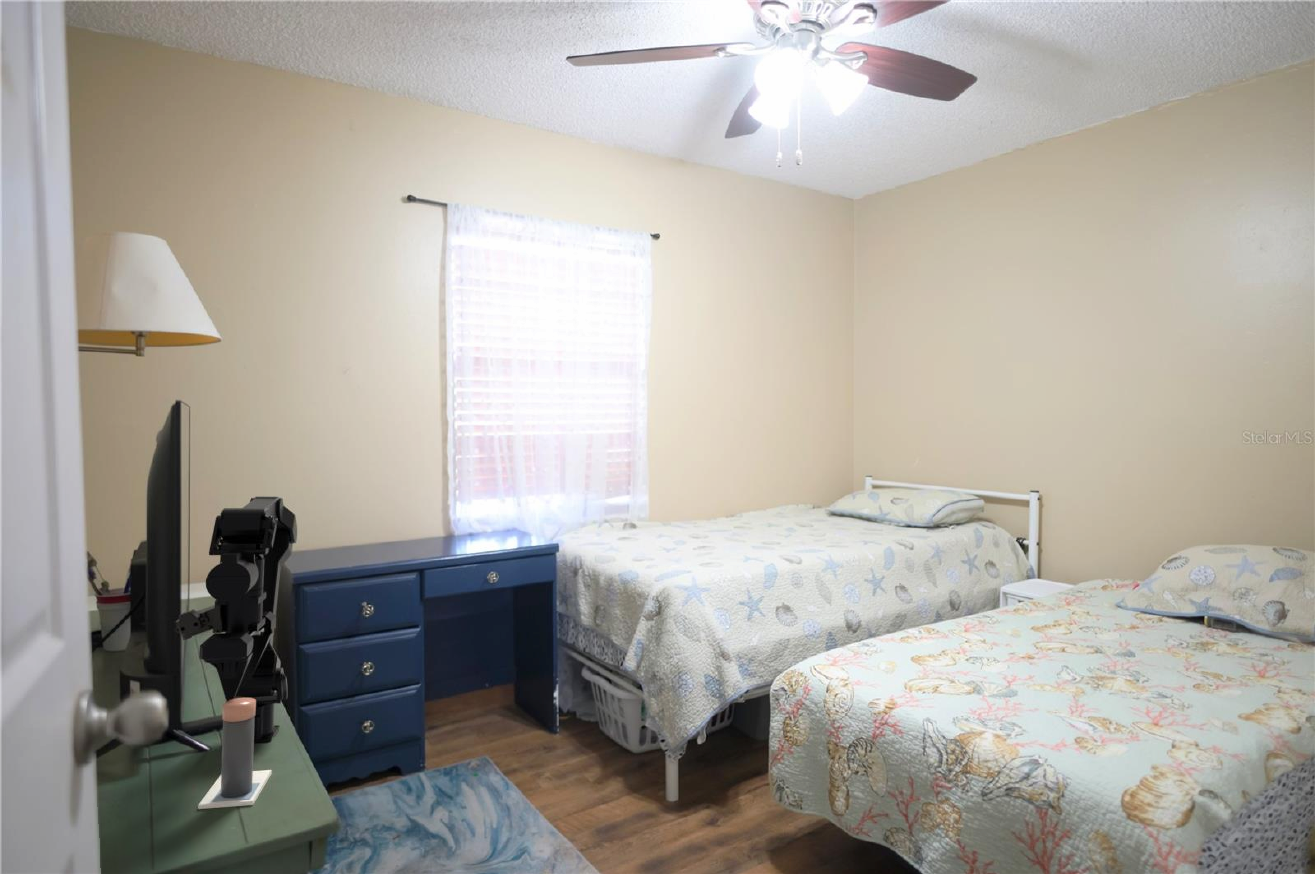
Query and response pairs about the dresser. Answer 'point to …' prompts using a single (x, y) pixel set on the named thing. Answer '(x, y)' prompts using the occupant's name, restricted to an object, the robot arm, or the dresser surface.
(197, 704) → the dresser surface
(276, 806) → the dresser surface
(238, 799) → the notepad
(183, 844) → the dresser surface
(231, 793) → the bottle
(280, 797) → the dresser surface
